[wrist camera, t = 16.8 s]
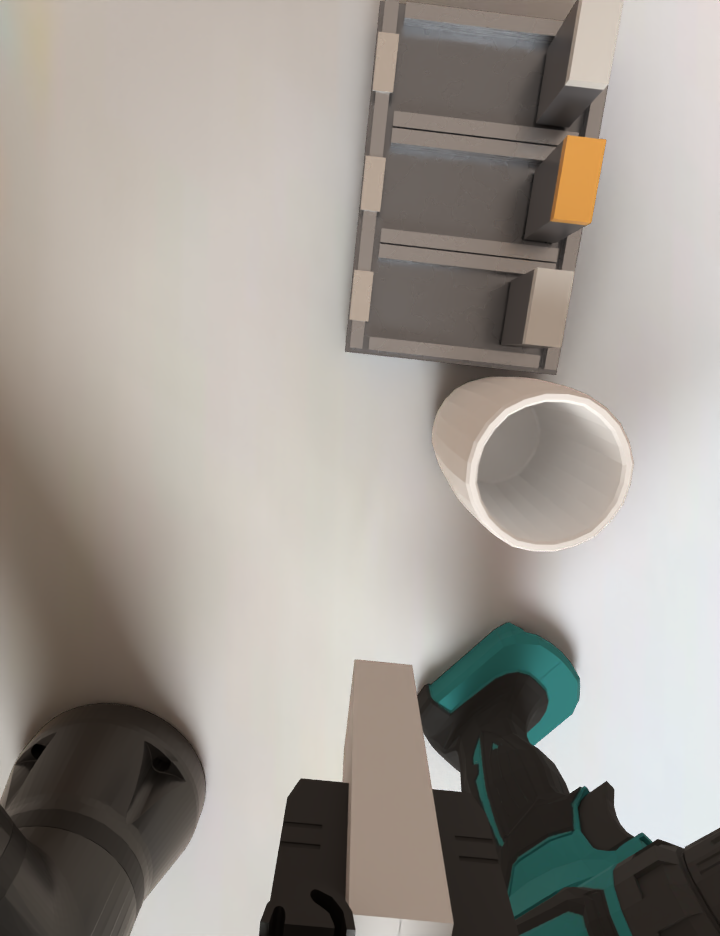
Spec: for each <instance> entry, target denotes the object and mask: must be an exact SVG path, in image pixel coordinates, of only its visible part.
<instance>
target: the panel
mask: <svg viewBox="0 0 720 936" xmlns="http://www.w3.org/2000/svg"><path fill="white" fill-rule="evenodd" d="M563 22H564V21H561V20H552V19H544V18H536V17H528V16H520V15H512V14H504V13H496V12H487V11H479V10H471V9H463V8H455V7H447V6H439V5H431V4H423V3H414V2H406V4H400V3H399V1H398V0H385V2H383V1H380V8H379V18H378V28H377V38H376V48H375V58H374V68H373V78H372V88H371V98H370V108H369V118H368V128H367V138H366V148H365V158H364V168H363V178H362V188H361V198H360V207H359V217H358V227H357V237H356V247H355V257H354V267H353V277H352V287H351V297H350V307H349V317H348V327H347V337H346V347H345V352H354V353H363V354H372V355H381V356H390V357H399V358H408V359H417V360H426V361H435V362H444V363H453V364H462V365H471V366H480V367H489V368H498V369H507V370H516V371H525V372H534V373H543V374H552V375H556V373H557V367H558V361H559V356H560V350H561V348H523V347H514V346H505V345H501V341H502V335H503V328H504V322H505V316H506V309H507V303H508V297H509V290H510V284H511V280H513V279H515V278H517V277H519V276H521V275H523V274H526V273H528V272H530V271H532V270H534V269H536V268H538V267H539V268H548V269H556V270H565V271H574V272H575V267H576V261H577V256H578V250H579V245H580V239H581V234H582V228H581V229H580V230H578V231H576V232H574V233H572V234H571V235H569V236H567V237H565V238H564V239H562V240H560V241H558V242H557V243H550V242H542V241H533V240H524V236H525V230H526V223H527V217H528V211H529V205H530V198H531V192H532V186H533V180H534V173H535V169H536V168H537V167H538V166H539V165H540V164H541V163H542V162H543V161H544V160H545V159H546V158H547V157H548V156H549V155H550V153H551V152H552V151H553V150H554V149H555V148H556V147H557V146H558V145H559V144H560V143H561V142H562V141H563V140H564V139H565V138H566V137H567V135H571V136H579V137H588V138H596V139H599V133H600V128H601V122H602V117H603V111H604V106H605V100H606V94H607V89H608V85H607V86H606V88H605V89H604V90H603V91H602V92H601V93H600V94H599V95H598V96H597V97H596V98H595V100H594V101H593V102H592V103H591V104H590V105H589V106H588V107H587V108H586V109H585V110H584V112H583V113H582V114H581V115H580V116H579V117H578V118H577V119H576V120H575V121H574V122H573V124H572V125H571V126H570V127H569V128H567V127H558V126H550V125H542V124H536V119H537V113H538V106H539V100H540V93H541V87H542V81H543V74H544V68H545V62H546V55H547V49H548V47H549V45H550V44H551V42H552V40H553V39H554V37H555V35H556V34H557V32H558V30H559V29H560V27H561V25H562V24H563Z"/></svg>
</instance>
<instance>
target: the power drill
mask: <svg viewBox="0 0 720 936" xmlns="http://www.w3.org/2000/svg"><path fill="white" fill-rule="evenodd" d="M579 696H580V678H579V676H578V674H577V672H576V671H575V669H574V667H573V666H572V664H571V662H570V661H569V660H568V659H567V658H566V657H565V655H564V654H563V653H562V652H561V651H560V650H559V649H557V648H556V647H555V646H554V645H553V644H552V643H550V642H548V641H547V640H545V639H543V638H541V637H540V636H538V635H535V634H531V633H527V632H524V631H523V629H521V628H519V627H517V626H515V625H513V624H511V623H509V622H508V623H505V624H503V625H502V626H500V627H498V628H496V629H495V630H493V631H492V632H491V633H490V634H489V635H488V636H487V637H485V638H484V639H483V640H482V641H481V642H480V643H478V644H477V645H476V646H475V647H474V648H473V649H472V650H470V651H469V652H468V653H467V654H466V655H465V656H464V657H462V658H461V659H460V660H459V661H458V662H457V663H455V664H454V665H453V666H452V667H451V668H450V669H449V670H447V671H446V672H445V673H444V674H443V675H442V676H440V677H439V678H438V679H437V680H436V681H435V682H434V683H432V684H431V685H430V684H427V685H425V686H424V687H423V689H422V690H421V692H420V693H419V695H418V696H417V699H418V705H419V711H420V718H421V724H422V730H423V733H424V735H425V736H426V738H427V739H428V741H429V743H430V744H431V746H432V747H433V748H434V749H435V750H436V751H437V752H438V753H439V754H440V755H441V756H442V757H443V758H444V759H445V760H446V761H447V762H448V763H450V764H451V765H452V766H453V767H454V768H455V769H456V770H458V771H459V772H460V774H461V791H462V792H466V793H471V794H472V795H473V797H474V798H475V799H476V801H477V802H478V804H479V805H480V806H481V808H482V809H483V810H484V812H485V813H486V815H487V818H488V822H489V826H490V829H491V833H492V837H493V844H495V848H496V852H497V855H498V859H499V865H500V866H501V870H502V874H503V878H504V881H505V885H506V889H507V892H508V896H509V900H510V903H511V907H512V911H513V915H514V918H515V922H516V926H517V929H518V933H519V936H720V828H719V829H717V830H715V831H713V832H711V833H710V834H708V835H706V836H704V837H702V838H700V839H699V840H697V841H695V842H693V843H691V844H690V845H688V846H686V847H685V849H684V848H681V847H678V846H676V845H673V844H670V843H668V842H665V841H662V840H659V839H657V840H656V841H654V842H652V841H651V840H650V839H649V838H648V837H647V836H646V835H645V834H644V833H640V834H638V835H637V836H635V837H633V836H632V835H630V834H629V833H628V832H626V831H625V829H624V828H623V827H622V826H621V824H620V822H619V820H618V818H617V816H616V812H615V808H614V789H613V787H612V786H611V785H610V784H609V783H608V782H607V781H606V782H604V783H603V784H602V785H600V786H599V787H597V788H596V789H594V790H593V791H592V792H589V790H588V789H587V787H585V786H584V787H579V788H578V789H576V790H575V791H573V792H572V793H569V791H568V788H567V785H566V783H565V781H564V779H563V778H562V776H561V774H560V773H559V771H558V769H557V767H556V766H555V764H554V763H553V762H552V761H551V760H550V759H549V758H548V757H547V756H546V755H545V754H543V753H542V752H541V751H540V750H539V749H538V748H536V747H535V746H534V745H535V744H536V743H538V742H539V741H540V740H541V739H542V738H544V737H545V736H546V735H547V734H549V733H550V732H551V731H552V730H553V729H555V728H556V727H557V726H558V725H559V724H561V723H562V722H563V721H564V720H565V719H567V718H568V717H569V716H570V715H572V714H573V711H574V709H575V707H576V705H577V703H578V701H579Z"/></svg>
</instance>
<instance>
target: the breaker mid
mask: <svg viewBox="0 0 720 936" xmlns="http://www.w3.org/2000/svg"><path fill="white" fill-rule="evenodd" d="M605 144H606V140H605V139H596V138H588V137H579V136H571V135H567V137H566V138H565V139H564V140H563V141H562V142H561V143H560V144H559V145H558V146H557V147H556V148H555V149H554V150H553V151H552V152H551V153H550V155H549V156H548V157H547V158H546V159H545V160H544V161H543V162H542V163H541V164H540V165H539V166H538V167H537V168H536V169H535V173H534V180H533V186H532V192H531V198H530V205H529V211H528V217H527V223H526V230H525V236H524V240H533V241H542V242H550V243H557V242H558V241H560V240H562V239H564V238H565V237H567V236H569V235H571V234H572V233H574V232H576V231H578V230H580V229H581V228H583V227H585V226H587V225H588V224H590V223H591V221H592V216H593V210H594V205H595V199H596V194H597V188H598V183H599V177H600V172H601V166H602V161H603V155H604V150H605Z"/></svg>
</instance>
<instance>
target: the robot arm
mask: <svg viewBox="0 0 720 936" xmlns="http://www.w3.org/2000/svg"><path fill="white" fill-rule="evenodd" d="M204 800H205V778H204V773H203V769H202V766H201V764H200V761H199V759H198V757H197V755H196V753H195V751H194V750H193V748H192V747H191V745H190V744H189V743H188V741H187V740H186V739H185V738H184V737H183V736H182V735H181V734H180V733H179V732H178V731H177V730H176V729H175V728H174V727H172V726H171V725H170V724H168V723H167V722H165V721H164V720H162V719H160V718H159V717H157V716H155V715H153V714H151V713H149V712H146V711H144V710H141V709H138V708H134V707H130V706H126V705H119V704H92V705H86V706H81V707H78V708H74V709H72V710H69V711H67V712H64V713H62V714H60V715H59V716H57V717H55V718H54V719H52V720H51V721H50V722H48V723H47V724H46V725H45V726H44V727H43V728H42V729H41V730H40V731H39V732H38V733H37V734H36V736H35V737H34V738H33V739H32V740H31V741H30V743H29V744H28V745H27V746H26V747H25V749H24V750H23V751H22V752H21V754H20V756H19V757H18V759H17V760H16V762H15V764H14V766H13V768H12V770H11V773H10V776H9V778H8V781H7V784H6V786H5V789H4V792H3V794H2V797H1V800H0V936H130V934H131V931H132V928H133V926H134V923H135V920H136V918H137V915H138V913H139V910H140V908H141V906H142V903H143V901H144V900H145V899H146V897H147V896H148V895H149V894H150V892H151V891H152V890H153V889H154V887H155V886H156V885H157V884H158V882H159V881H160V880H161V879H162V877H163V876H164V875H165V874H166V872H167V871H168V870H169V869H170V867H171V866H172V865H173V864H174V862H175V861H176V860H177V859H178V857H179V856H180V855H181V854H182V852H183V851H184V850H185V848H186V847H187V845H188V843H189V842H190V840H191V838H192V836H193V834H194V831H195V829H196V826H197V823H198V820H199V817H200V815H201V812H202V809H203V805H204ZM259 936H519V933H518V929H517V926H516V922H515V918H514V915H513V911H512V907H511V903H510V900H509V896H508V892H507V889H506V885H505V881H504V878H503V874H502V870H501V866H500V865H499V859H498V855H497V852H496V848H495V844H493V837H492V833H491V829H490V826H489V822H488V818H487V815H486V813H485V812H484V810H483V809H482V808H481V806H480V805H479V804H478V802H477V801H476V799H475V798H474V797H473V795H472V794H471V793H466V792H455V791H445V790H434V789H432V786H431V780H430V773H429V767H428V761H427V755H426V749H425V742H424V736H423V730H422V724H421V718H420V711H419V705H418V699H417V693H416V686H415V680H414V674H413V668H412V665H406V664H396V663H386V662H376V661H366V660H356V659H355V661H354V669H353V678H352V686H351V695H350V703H349V712H348V720H347V729H346V737H345V746H344V761H343V782H333V781H322V780H312V779H300V780H299V782H298V783H297V785H296V786H295V787H294V789H293V790H292V792H291V793H290V795H289V796H288V797H287V803H286V809H285V815H284V821H283V827H282V833H281V839H280V846H279V851H278V857H277V863H276V869H275V875H274V881H273V887H272V892H271V898H270V901H269V902H268V903H267V905H266V908H265V911H264V913H263V916H262V919H261V921H260V931H259Z"/></svg>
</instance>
